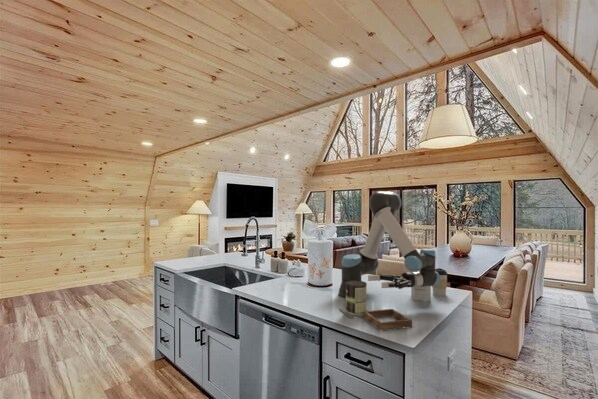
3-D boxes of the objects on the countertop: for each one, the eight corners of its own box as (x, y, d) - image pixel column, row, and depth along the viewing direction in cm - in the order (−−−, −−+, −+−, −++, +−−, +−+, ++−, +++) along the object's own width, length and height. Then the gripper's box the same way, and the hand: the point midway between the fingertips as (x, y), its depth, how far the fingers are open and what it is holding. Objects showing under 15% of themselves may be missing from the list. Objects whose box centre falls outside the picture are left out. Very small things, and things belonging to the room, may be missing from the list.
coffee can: (344, 313, 147) (344, 284, 147) (347, 307, 156) (347, 279, 157) (366, 316, 144) (365, 286, 144) (367, 309, 154) (367, 281, 154)
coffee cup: (446, 297, 177) (446, 271, 177) (430, 295, 181) (429, 269, 182) (448, 293, 184) (448, 268, 185) (432, 291, 189) (432, 267, 190)
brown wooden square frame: (363, 317, 143) (363, 311, 143) (392, 315, 147) (392, 308, 147) (380, 330, 128) (380, 323, 128) (412, 327, 132) (412, 320, 132)
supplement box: (431, 301, 169) (431, 270, 170) (413, 300, 171) (413, 270, 172) (427, 296, 179) (427, 267, 179) (411, 295, 180) (410, 267, 181)
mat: (338, 309, 155) (338, 308, 155) (362, 307, 158) (362, 306, 158) (349, 318, 142) (349, 317, 142) (374, 316, 145) (374, 314, 145)
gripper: (427, 293, 146) (388, 296, 140) (397, 280, 170) (363, 282, 165) (427, 278, 146) (388, 280, 140) (397, 267, 170) (363, 268, 165)
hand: (374, 281), depth 152 cm, fingers open, 13 cm apart
